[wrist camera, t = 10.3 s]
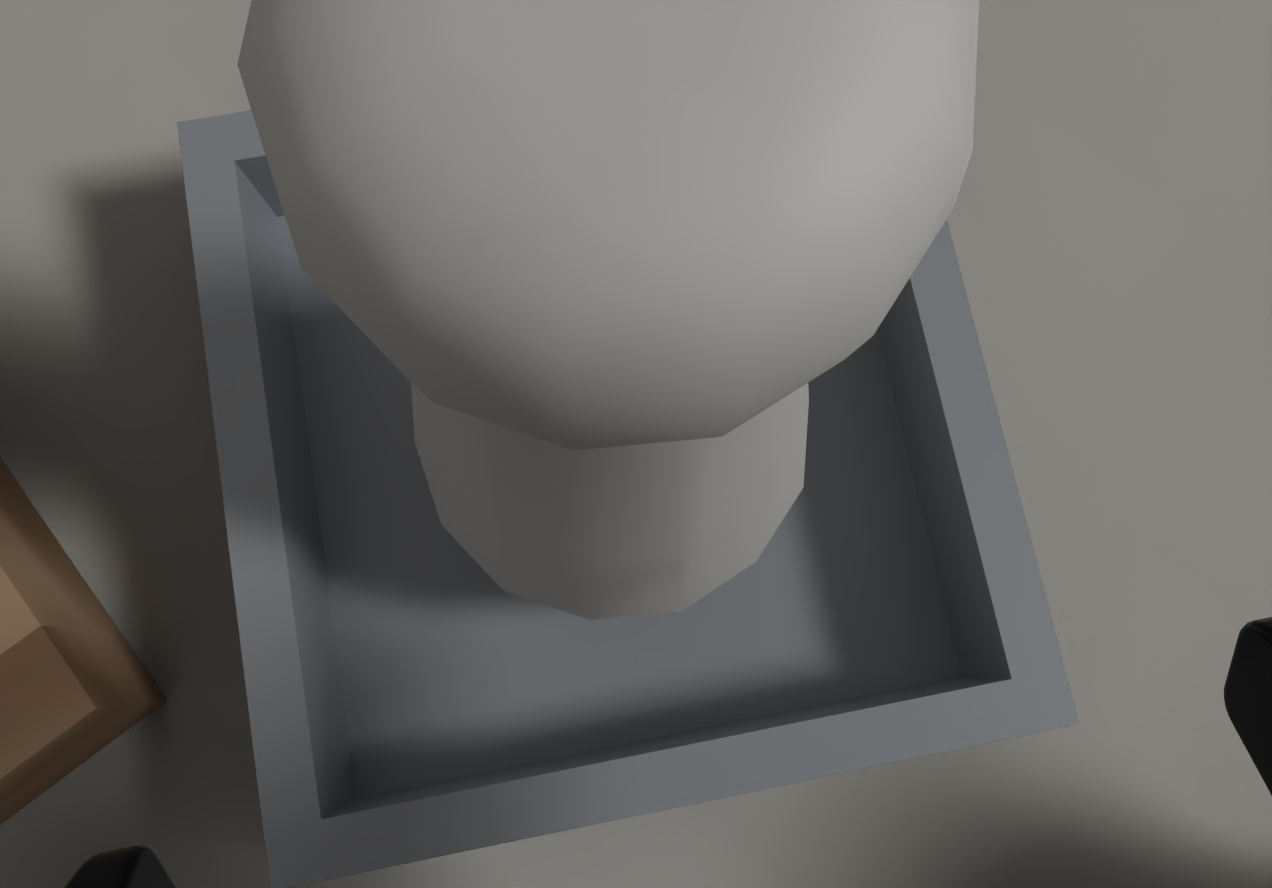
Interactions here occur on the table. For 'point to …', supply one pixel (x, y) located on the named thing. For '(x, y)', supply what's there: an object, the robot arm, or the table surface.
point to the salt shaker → (613, 249)
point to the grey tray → (568, 644)
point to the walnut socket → (55, 660)
